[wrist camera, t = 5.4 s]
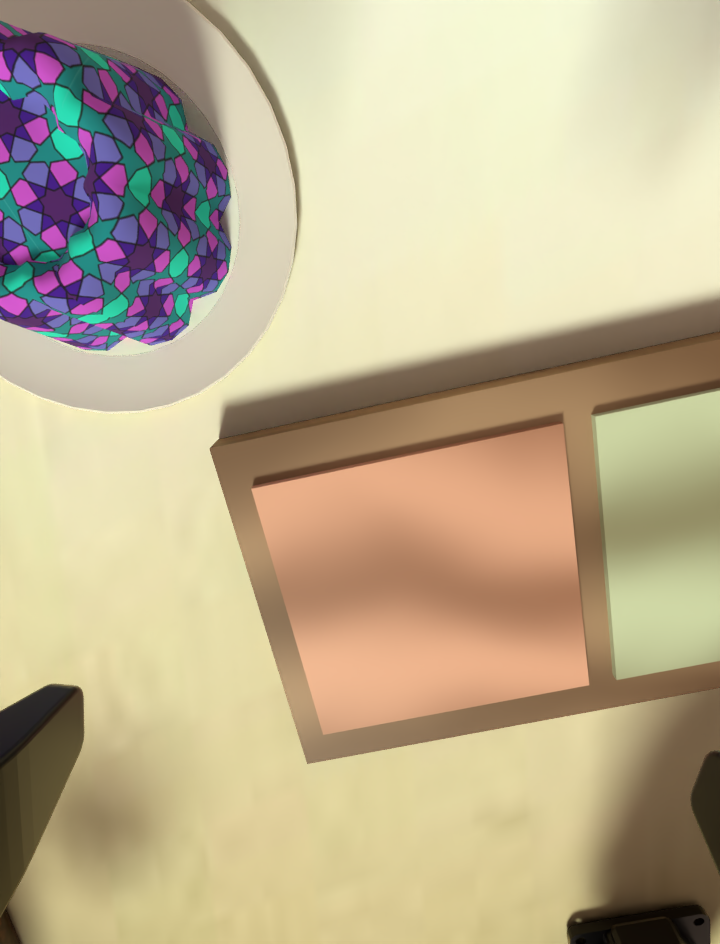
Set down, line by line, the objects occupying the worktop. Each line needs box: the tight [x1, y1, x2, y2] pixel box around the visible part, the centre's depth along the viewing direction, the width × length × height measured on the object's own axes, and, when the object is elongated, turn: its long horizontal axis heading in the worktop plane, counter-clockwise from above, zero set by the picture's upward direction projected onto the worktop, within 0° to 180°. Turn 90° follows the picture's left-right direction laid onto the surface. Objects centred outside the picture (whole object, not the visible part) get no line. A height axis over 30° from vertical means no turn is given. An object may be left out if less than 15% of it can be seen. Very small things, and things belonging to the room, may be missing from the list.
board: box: [210, 332, 720, 764], centre depth 19 cm, size 13×23×2 cm, turn 102°
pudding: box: [0, 0, 297, 414], centre depth 14 cm, size 12×12×5 cm
